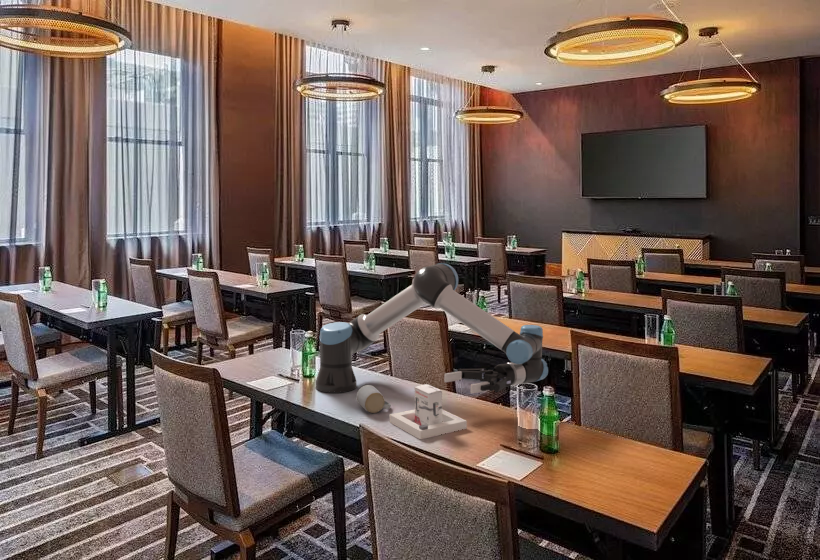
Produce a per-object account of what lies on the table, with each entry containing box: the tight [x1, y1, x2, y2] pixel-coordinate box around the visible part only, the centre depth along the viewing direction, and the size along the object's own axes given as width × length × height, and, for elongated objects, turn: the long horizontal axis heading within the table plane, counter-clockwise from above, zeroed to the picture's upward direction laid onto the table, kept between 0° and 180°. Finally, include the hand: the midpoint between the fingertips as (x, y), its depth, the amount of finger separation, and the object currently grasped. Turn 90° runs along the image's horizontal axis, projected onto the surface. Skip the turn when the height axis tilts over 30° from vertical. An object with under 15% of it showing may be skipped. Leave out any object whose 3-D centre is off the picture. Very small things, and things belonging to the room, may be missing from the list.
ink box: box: [414, 383, 443, 426], centre depth 190 cm, size 9×5×12 cm, turn 34°
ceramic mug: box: [356, 384, 392, 414], centre depth 205 cm, size 11×8×8 cm
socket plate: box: [389, 408, 468, 440], centre depth 191 cm, size 17×17×3 cm
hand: (457, 383), depth 195 cm, fingers open, 13 cm apart
